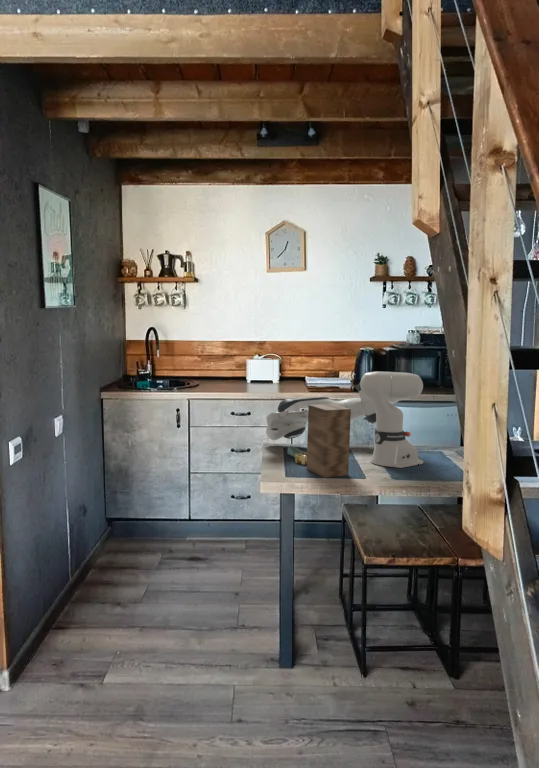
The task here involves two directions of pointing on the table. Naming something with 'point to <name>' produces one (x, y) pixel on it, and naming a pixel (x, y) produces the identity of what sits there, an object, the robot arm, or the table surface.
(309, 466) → the walnut stand
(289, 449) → the gear axle
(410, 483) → the table surface
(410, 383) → the robot arm
